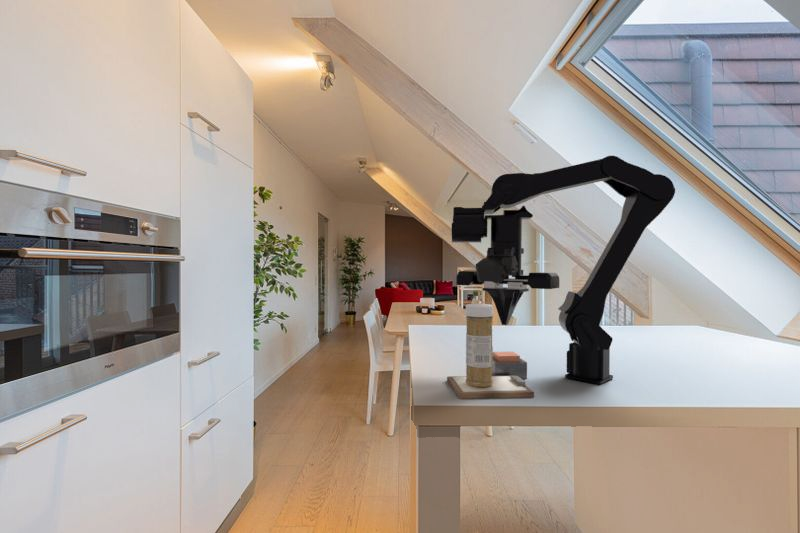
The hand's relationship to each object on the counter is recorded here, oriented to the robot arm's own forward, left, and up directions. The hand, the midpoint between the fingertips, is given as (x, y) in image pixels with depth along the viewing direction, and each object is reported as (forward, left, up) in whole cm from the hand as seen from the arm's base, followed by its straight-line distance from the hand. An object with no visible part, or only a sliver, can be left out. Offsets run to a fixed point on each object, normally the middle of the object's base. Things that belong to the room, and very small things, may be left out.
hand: (504, 324), depth 85 cm
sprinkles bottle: (-3, +12, -9) cm, 15 cm away
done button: (0, 0, -9) cm, 9 cm away
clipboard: (-3, +10, -10) cm, 14 cm away
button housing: (0, 0, -10) cm, 10 cm away
